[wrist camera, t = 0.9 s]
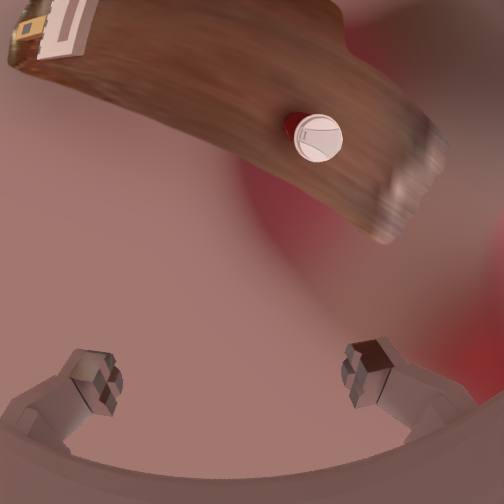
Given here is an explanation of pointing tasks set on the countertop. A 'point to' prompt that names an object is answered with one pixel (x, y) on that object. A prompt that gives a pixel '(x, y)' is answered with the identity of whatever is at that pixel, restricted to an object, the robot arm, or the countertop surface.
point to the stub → (31, 29)
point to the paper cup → (313, 135)
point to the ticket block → (67, 29)
